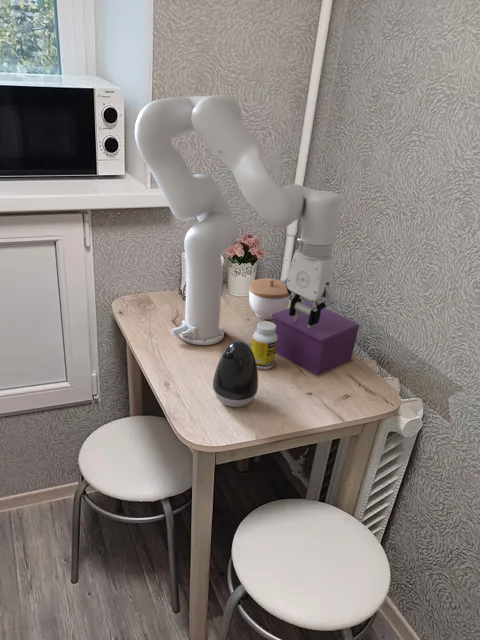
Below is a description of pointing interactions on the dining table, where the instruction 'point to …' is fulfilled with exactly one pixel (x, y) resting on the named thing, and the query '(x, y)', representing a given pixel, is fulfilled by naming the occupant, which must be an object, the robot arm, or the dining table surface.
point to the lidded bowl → (268, 297)
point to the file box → (314, 348)
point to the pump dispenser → (236, 375)
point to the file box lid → (321, 331)
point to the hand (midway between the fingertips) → (303, 318)
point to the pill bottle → (264, 344)
